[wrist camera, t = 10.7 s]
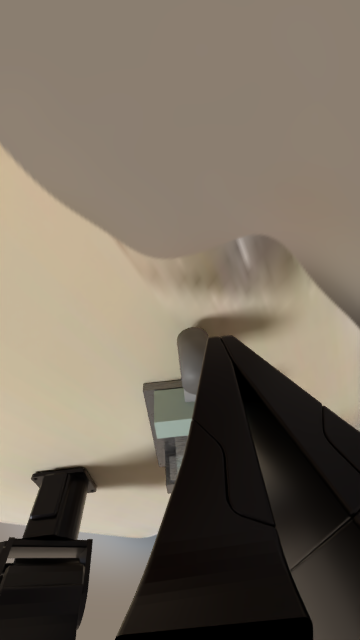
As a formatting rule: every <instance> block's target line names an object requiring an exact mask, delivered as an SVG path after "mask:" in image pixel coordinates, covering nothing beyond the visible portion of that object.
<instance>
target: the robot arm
mask: <svg viewBox="0 0 360 640" xmlns="http://www.w3.org/2000/svg"><path fill="white" fill-rule="evenodd" d="M31 479H32V480H33V481H34V482H35V483H36V485H37V486H38V487H39V488H40V489H39V491H38V494H37V497H36V500H35V503H34V505H33V508H32V511H31V514H30V518H29V521H28V523H27V526H26V529H25V532H24V535H23V538H22V539H15V538H14V537H12V538H11V537H10V538H9V540H8V541H4V542H0V640H75V639H76V630H77V629H78V628H79V626H80V623H81V620H82V617H83V613H84V609H85V604H86V599H87V592H88V583H89V573H90V562H91V552H92V539H88V540H77V538H78V534H79V529H80V524H81V519H82V514H83V509H84V505H85V500H86V495H87V493H92V492H96V489H97V487H96V485H95V484H94V482H93V480H92V479H91V477H90V476H89V474H88V472H87V471H86V469H84V468H78V469H70V470H61V471H52V472H44V473H35V474H33V475H32V478H31ZM7 558H15V560H14V563H6V561H7ZM115 640H360V432H359V431H358V430H356V429H355V428H354V427H352V426H351V425H350V424H348V423H347V422H346V421H344V420H343V419H342V418H340V417H339V416H337V415H336V414H335V413H334V412H332V411H331V410H330V409H328V408H327V407H326V406H322V404H321V403H320V402H319V401H318V400H316V399H315V398H314V397H312V396H311V395H310V394H308V393H307V392H306V391H305V390H303V389H302V388H301V387H299V386H298V385H297V384H295V383H294V382H293V381H291V380H290V379H289V378H287V377H286V376H285V375H284V374H282V373H281V372H280V371H278V370H277V369H276V368H274V367H273V366H272V365H270V364H269V363H268V362H267V361H265V360H264V359H263V358H261V357H260V356H259V355H257V354H256V353H255V352H253V351H252V350H251V349H249V348H248V347H247V346H246V345H244V344H243V343H242V342H240V341H239V340H238V339H236V338H235V337H234V336H232V335H229V336H221V337H209V338H208V339H207V343H206V348H205V353H204V358H203V363H202V369H201V374H200V379H199V384H198V389H197V394H196V399H195V404H194V410H193V415H192V421H191V424H190V429H189V434H188V439H187V443H186V447H185V452H184V456H183V459H182V462H181V465H180V469H179V472H178V475H177V478H176V481H175V484H174V487H173V490H172V493H171V496H170V499H169V502H168V505H167V508H166V511H165V514H164V517H163V520H162V523H161V526H160V529H159V532H158V535H157V538H156V541H155V544H154V546H153V549H152V552H151V555H150V558H149V560H148V563H147V566H146V569H145V571H144V574H143V576H142V579H141V581H140V584H139V586H138V589H137V591H136V594H135V596H134V598H133V601H132V603H131V605H130V608H129V610H128V612H127V614H126V616H125V619H124V621H123V623H122V625H121V627H120V629H119V632H118V634H117V636H116V638H115Z"/></svg>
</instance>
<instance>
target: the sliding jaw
mask: <svg viewBox="0 0 360 640" xmlns="http://www.w3.org/2000/svg"><path fill="white" fill-rule="evenodd" d="M208 338H209V336H208V334H207V332H206V331H205V330H203V329H201V328H198V327H191V328H187V329H185V330H183V331H182V332H181V333H180V334H179V336H178V338H177V346H178V354H179V362H180V371H181V379H182V386H183V388H178V389H168V390H158V391H154V425H155V430H156V435H157V439H160V438H169V437H178V436H187V435H188V434H189V429H190V424H191V421H192V415H193V410H194V404H195V399H196V394H197V389H198V384H199V379H200V374H201V369H202V363H203V358H204V353H205V348H206V343H207V339H208Z"/></svg>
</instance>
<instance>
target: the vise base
mask: <svg viewBox="0 0 360 640" xmlns="http://www.w3.org/2000/svg"><path fill="white" fill-rule="evenodd" d="M178 388H183V386H182V380H176V381H166V382H156V383H146V384H143V393H144V398H145V402H146V407H147V412H148V417H149V421H150V426H151V431H152V435H153V440H154V445H155V449H156V454H157V459H158V464H159V467H164V466H165V467H166V487H167V492H168V494H169V493H172V490H173V487H174V484H175V481H176V478H177V475H178V474H177V460H176V446H175V437H169V438H160V439H157V435H156V430H155V425H154V391H158V390H168V389H178Z"/></svg>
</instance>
